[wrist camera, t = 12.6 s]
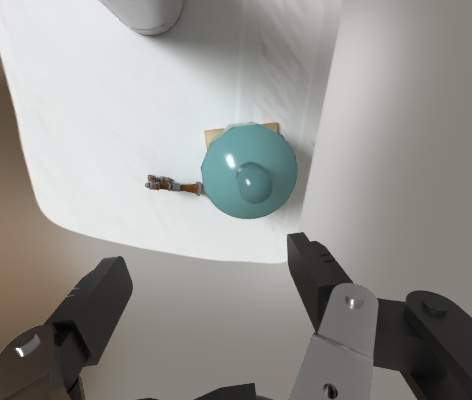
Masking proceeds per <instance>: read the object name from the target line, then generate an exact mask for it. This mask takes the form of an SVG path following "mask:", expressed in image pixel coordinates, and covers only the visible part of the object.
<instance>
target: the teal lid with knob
mask: <svg viewBox="0 0 472 400" xmlns="http://www.w3.org/2000/svg"><path fill="white" fill-rule="evenodd" d="M201 172H202V181H203V186H204V190H205V193H206V194H207V196H208V197H209V199H210V200H211V202H212V203H213V204H214V205H215V206H216V207H217V208H218V209H219V210H221V211H222V212H224V213H225V214H228V215H230V216H232V217H236V218H241V219H255V218H260V217H263V216H266V215H268V214H271V213H272V212H274V211H276V210H277V209H278V208H280V207H281V206H282V205H283V204H284V203H285V202H286V200H287V199H288V198H289V196H290V195H291V193H292V191H293V189H294V186H295V183H296V178H297V163H296V156H295V155H294V153H293V151H292V149H291V147H290V146H289V144H288V143H287V142H286V140H285V139H284V137H283V135H280V134H278V133H276V132H274V131H272V130H270V129H268V128H266V127H264V126H262V125H259V124H257V123H253V122H249V123H240V124H232V125H229V126H227V127H226V128H225V129H224V130H222V131H221V132H220V133H218V134H217V135H216V136H215V137H213V138H212V140H211V143H210V146H209V148H208V151H207V153H206V156H205V158H204V161H203V163H202V166H201Z"/></svg>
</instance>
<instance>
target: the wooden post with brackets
mask: <svg viewBox="0 0 472 400" xmlns="http://www.w3.org/2000/svg"><path fill="white" fill-rule="evenodd" d="M154 179H155V180H154ZM148 181H149V183H146V184H145V187H147V188H149V189H154V190H159V189H165V190H168V191H170V190H172V191H179V192H180V191H187V192H192V193H195V194H196V195H197V196H200V193H201V188H202V185H201V184H200V183H199V182H196V184H192V185H180V184H176V183H172V180H171V179H169V178H162V176H161V178H160V179H158V178H157V179H156V178H154V177H153V176H152V175H148ZM158 181H159V182H158ZM170 183H172V184H170Z"/></svg>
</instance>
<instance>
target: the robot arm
mask: <svg viewBox="0 0 472 400" xmlns="http://www.w3.org/2000/svg"><path fill="white" fill-rule="evenodd" d="M99 1H100V2H101V3H102V4H103V5H104V6H105V7H106V8H107V9H108V10H110V11H111V12H112V13H113V14H114V15H115V16H116V17H117V18H118V19H119V20H120V21H121V22H122V23H124V24H125V25H126V26H127V27H129V28H130V29H131V30H133V31H135V32H137V33H140V34H144V35H157V34H161V33H163V32H165V31H167V30H169V29H170V28H171V27H172V26H173V25H174V24H175V22H176V21H177V19H178V18H179V16H180V13H181V11H182V7H183V2H184V0H99ZM287 250H288V265H289V270H290V273H291V276H292V278H293V280H294V283H295V285H296V287H297V290H298V292H299V294H300V297H301V299H302V301H303V304H304V306H305V308H306V311H307V313H308V315H309V318H310V320H311V322H312V325H313V327H314V329H315V332H316V333H314V334H313V335H312V337H311V340H310V343H309V345H308V348H307V351H306V353H305V356H304V359H303V362H302V364H301V367H300V370H299V373H298V375H297V378H296V381H295V384H294V386H293V389H292V392H291V395H290V397H289V400H369V399H370V389H371V380H372V370H373V366H376V367H381V368H386V369H391V370H396V371H400V373H401V374H402V376H403V377H404V379H405V381H406V382H407V384H408V385H409V387H410V389H411V390H412V391H413V393H414V395H415V396H416V398H417V400H472V318H471V317H470V316H469V315H468V314H467V313H466V312H464V311H463V310H462V309H461V308H460V307H459V306H458V305H456V304H455V303H454V302H452V301H451V300H449V299H448V298H446V297H444V296H441V295H439V294H436V293H433V292H429V291H413V292H411V293H409V294H408V295H407V297H406V302H401V301H393V300H385V299H379V298H376V296H375V295H374V294H373V293H372V292H371V291H369V290H368V289H367V288H365V287H363V286H360V285H357V284H354V283H353V282H352V280H351V279H350V278H349V277H348V275H347V274H346V273H345V271H344V270H343V269H342V268H341V266H340V265H339V264H338V262H337V261H335V258H334V257H333V256H332V255H331V253H330V252H329V251H328V249H327V248H326V247H325V246H324V245H322V244H320V243H319V242H317V241H312V242H310V241H309V240H308V238H307V236H306V235H305V234H304V233H303V232H301V233H293V234H288V235H287ZM132 290H133V284H132V280H131V277H130V275H129V272H128V269H127V266H126V263H125V261H124V259H123V257H121V256H118V257H111V258H104V259H103V260H102V261H101V262H100V263H99V264H98V266H97V267H96V268H95V269H94V270H93V271H91V272H90V273H89V274H87V275H86V276H85V277H83V278H82V279H81V280H80V281H79V283H78V284H77V285H76V286H75V287H74V290H72V291H71V292H70V294H68V297H66V298H65V300H63V302H62V303H61V304H60V305H59V306H58V308H57V309H56V310H55V311H54V313H53V314H52V315H51V316H50V318H49V319H48V320H47V321H46V322H45V323H44V324H43V325H39V326H35V327H33V328H30V329H28V330H26V331H25V332H23V333H21V334H20V335H18V336H17V337H15V338H14V339H13V340H12V341H11V342H10V343H8V344H7V345H6V347H5V348H4V349H3V350H2V351H1V353H0V400H86V399H85V393H84V388H83V382H82V378H81V376H80V375H79V374H80V372H81V370H82V368H83V367H85V366H92V365H97V364H98V362H99V360H100V358H101V356H102V354H103V351H104V349H105V347H106V345H107V344H108V341H109V339H110V337H111V335H112V333H113V331H114V329H115V327H116V325H117V323H118V321H119V319H120V317H121V315H122V313H123V311H124V309H125V307H126V305H127V303H128V301H129V299H130V297H131V294H132ZM138 400H157V399H152V398H146V399H138ZM194 400H272V399H269V398H266V397H263V396H258V395H256V392H255V384H254V383H250V384H243V385H236V386H229V387H223V388H219V389H217V390H214V391H212V392H210V393H208V394H205V395H203V396H201V397H199V398H197V399H194Z"/></svg>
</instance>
